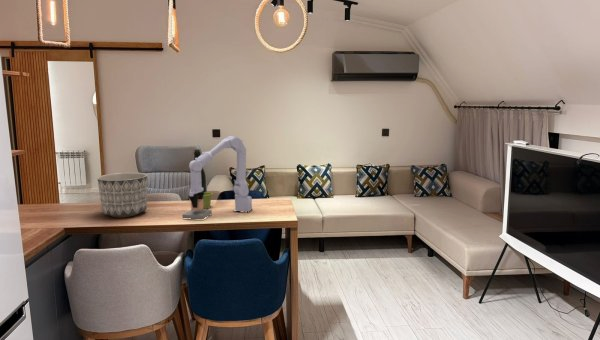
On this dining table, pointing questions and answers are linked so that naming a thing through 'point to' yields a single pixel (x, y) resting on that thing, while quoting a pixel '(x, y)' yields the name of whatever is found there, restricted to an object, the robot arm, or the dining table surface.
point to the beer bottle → (203, 175)
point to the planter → (123, 193)
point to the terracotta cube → (198, 205)
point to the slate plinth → (197, 214)
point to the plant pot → (207, 199)
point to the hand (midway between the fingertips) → (197, 206)
